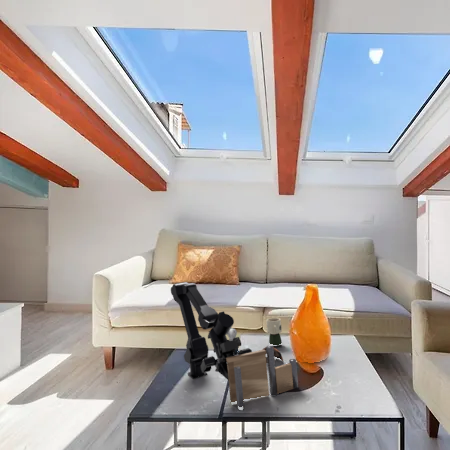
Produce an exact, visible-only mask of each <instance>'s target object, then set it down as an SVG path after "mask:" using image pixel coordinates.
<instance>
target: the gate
mask: <svg viewBox="0 0 450 450" xmlns="http://www.w3.org/2000/svg"><path fill="white" fill-rule="evenodd" d="M235 355H236V356H232V357H227V358H226V361H227V367H228V379H229V381H228V387H229V389H228V390H229V401H230V400H231V402H235V401H237V396H236V384H235V373H234V367H237V366H239V367H240V368H241V378H242V390H243V400H244V399H250V398H257V397H261V396H265V397H268V396H270V387H269V375H268V363H267V364H266V357H267V354H266V350H262V349H260V350H255V351H252V352H250V353H246V354H241V355H237V354H235ZM261 398H262V397H261ZM231 402H230V403H231Z"/></svg>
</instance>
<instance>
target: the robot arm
mask: <svg viewBox="0 0 450 450" xmlns="http://www.w3.org/2000/svg"><path fill="white" fill-rule="evenodd" d="M170 293H171V296H172V297H173V300H174V301H175V302H176V303H177V304H178V305H179V309H180V312H181V315H182V320H183V323H184V328H185V332H186V335H187V340H186V345H185V346H186V349H185V350H186V351H185V353H184V354H183V358H184V359H183V360H184V362H186V363H188V364H189V371H188V372H187V375H188V376H189V377H190V378H192V379H198V378H200V377H204V376H207V375H208V372H210V371H211V370H212V367H215V369H214V370H215V372H217V373H219V374H220V375H222V376H223V377H224V378H225V379H226V380H227V381H228V382H229V379H228V367H227V361H226V358H227V357H232V356H236V355H241V354H246V353H250V352H253V351H252V349H250V348H249V347H247V348H244V349H239V353H235V350H236V349H238V347H239V348H240V347H241V346H242V341H241V339H240V338H241V337H239V336H236V338H233V341H230V340H229V339H228V338H227V336H228V335H227V334H228V332H229V331H230V329H231V328H232V327H233V325H234V324H235V319H234V317H233V316H231V315H230V314H228V313H226V312H225V311H223V310H222V311H219V312H218V311H216V309H215V308H214V307H211V306H209V305H208V302H207V301H205V299H204V297H203V296H202V294H201V293H200V291H199V289H198V287H197V284H196V283H193V282H191V283H189V282H187V281H185V282H180V283H174V284H173V285H172V286H171V288H170ZM192 306H193V307H192ZM193 308H194V309H195V311H196V313H197V315H198V316H197V317H198V318H197V321H198V324H199V325H200V327H201V328H202V330H209V329H210V330H209V331H208V334H207V339H210V341H211V345H212V347H213V353H214V354H216V355H215V356H216V357H217V358H215V356H213V355H212V356H209V346H208V344H207V343H208V342H207V340H206V337H205V336H202V335H201V334H200V332H199V329H198V325H197V321H196V318H195V313H194V310H193ZM226 335H227V336H226Z"/></svg>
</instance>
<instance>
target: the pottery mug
mask: <svg viewBox="0 0 450 450" xmlns="http://www.w3.org/2000/svg"><path fill="white" fill-rule="evenodd" d="M261 350H266V355H267V349H266V346H264V347H263V348H262V349H261ZM273 351H274V362H276V360H275V357H277V358H280V359H281V360H280V361H281V362H282V361H283V362H284V359H283V356H282V354H281V351H280V350H278V349H277V347H275V346H273ZM266 364H267V365H268V361H267V356H266Z"/></svg>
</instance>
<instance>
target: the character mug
mask: <svg viewBox="0 0 450 450" xmlns="http://www.w3.org/2000/svg"><path fill="white" fill-rule="evenodd" d="M281 321H282V319H281V318H280V317H270V318H269V317H268V318H267V319H266V323H265V324H266V333H267V334H269V336H268V337H269V339H268V344H269V343H270V344H273V345H279V344H281V343H282V344H283V342H282V338H281V337H282V336H281V333H282V332H283V331H282V329H283V327H282V322H281Z"/></svg>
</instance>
